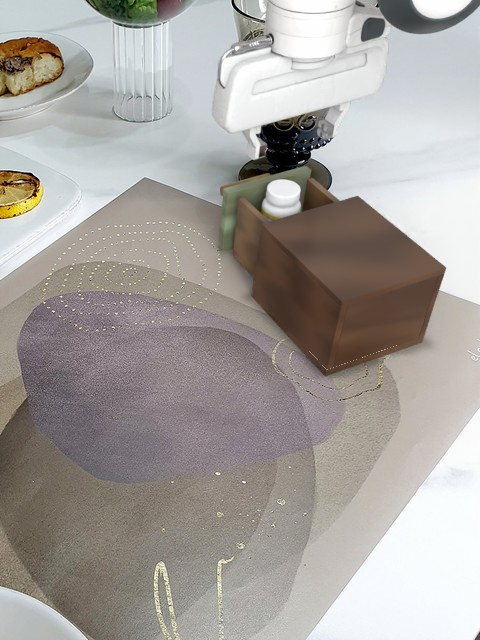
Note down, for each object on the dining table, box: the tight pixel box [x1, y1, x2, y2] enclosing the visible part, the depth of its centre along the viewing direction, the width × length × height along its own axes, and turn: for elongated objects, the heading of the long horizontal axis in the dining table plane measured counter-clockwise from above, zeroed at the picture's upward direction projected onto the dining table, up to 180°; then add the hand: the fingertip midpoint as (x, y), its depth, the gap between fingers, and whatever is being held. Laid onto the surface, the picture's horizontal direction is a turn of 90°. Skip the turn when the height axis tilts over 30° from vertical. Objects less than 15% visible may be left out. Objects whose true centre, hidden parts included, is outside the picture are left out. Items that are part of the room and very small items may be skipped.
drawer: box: [217, 165, 341, 278], centre depth 106 cm, size 19×12×9 cm, turn 23°
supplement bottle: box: [261, 179, 301, 221], centre depth 106 cm, size 5×5×8 cm
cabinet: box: [251, 195, 447, 377], centre depth 98 cm, size 16×13×11 cm
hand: (291, 146), depth 99 cm, fingers open, 8 cm apart
